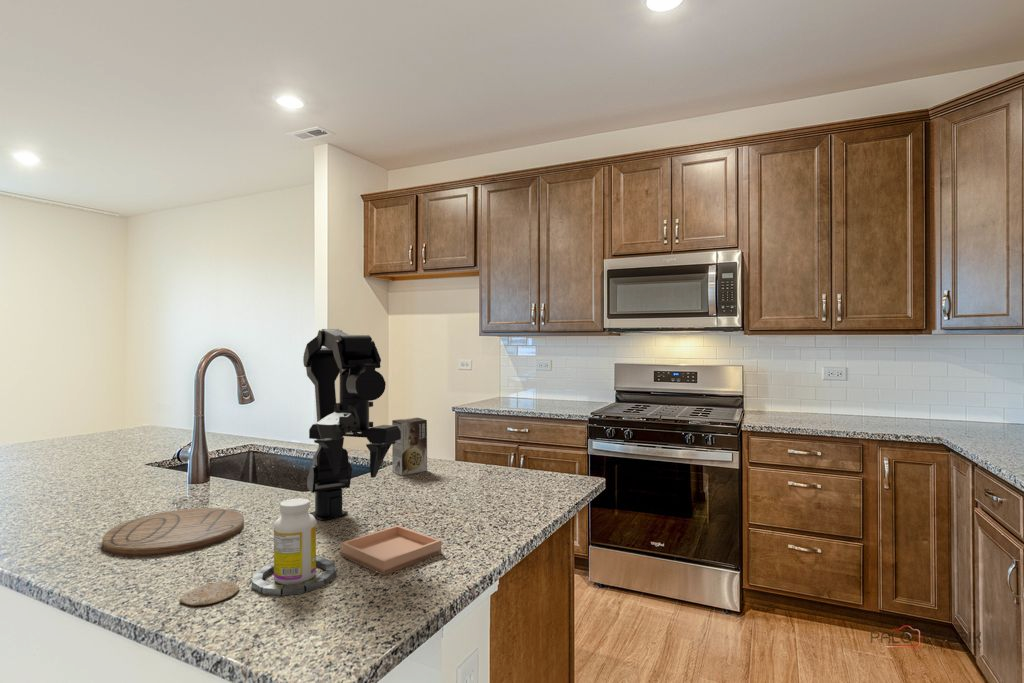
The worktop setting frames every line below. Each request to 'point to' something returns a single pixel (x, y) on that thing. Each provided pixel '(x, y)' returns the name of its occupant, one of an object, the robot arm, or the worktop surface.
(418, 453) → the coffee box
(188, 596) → the flatbread
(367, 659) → the worktop surface
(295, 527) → the supplement bottle
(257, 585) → the seat ring
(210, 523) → the trivet
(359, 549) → the tray
